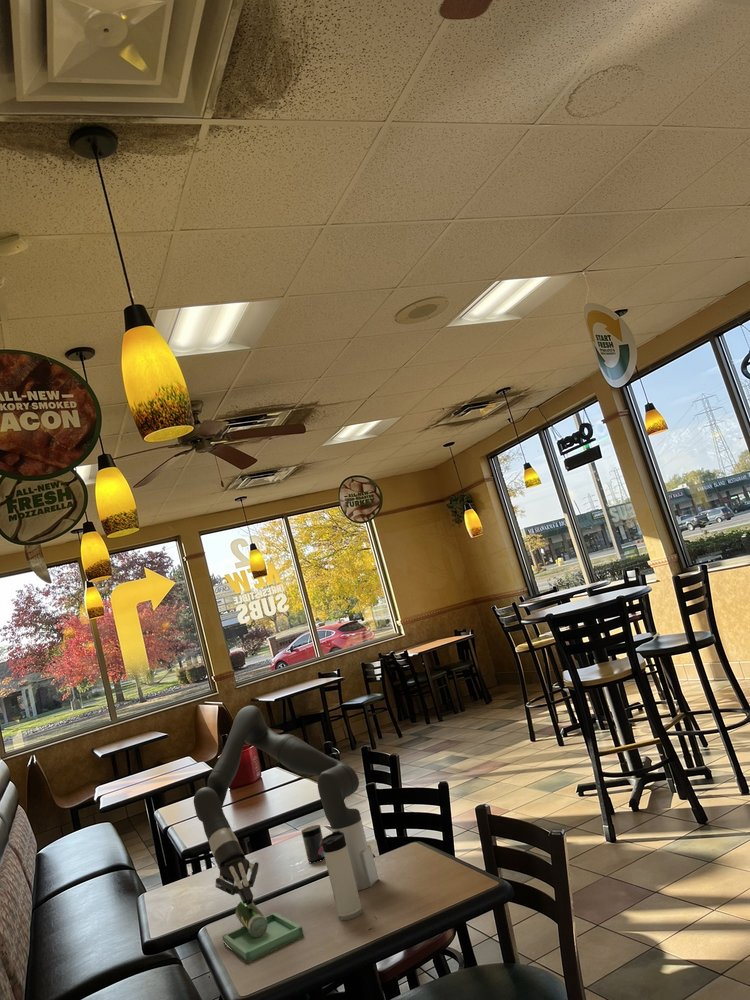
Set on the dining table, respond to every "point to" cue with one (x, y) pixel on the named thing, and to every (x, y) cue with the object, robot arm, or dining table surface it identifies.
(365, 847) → the robot arm
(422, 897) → the dining table surface
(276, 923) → the tray
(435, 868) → the dining table surface
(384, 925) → the dining table surface
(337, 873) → the travel mug
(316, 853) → the supplement container
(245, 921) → the beer can
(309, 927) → the dining table surface
